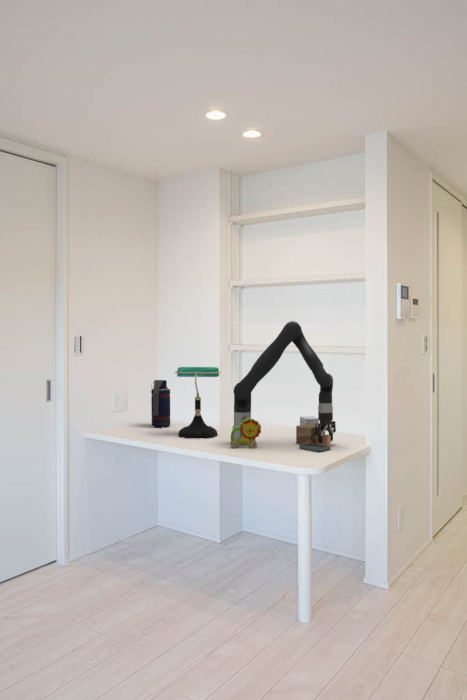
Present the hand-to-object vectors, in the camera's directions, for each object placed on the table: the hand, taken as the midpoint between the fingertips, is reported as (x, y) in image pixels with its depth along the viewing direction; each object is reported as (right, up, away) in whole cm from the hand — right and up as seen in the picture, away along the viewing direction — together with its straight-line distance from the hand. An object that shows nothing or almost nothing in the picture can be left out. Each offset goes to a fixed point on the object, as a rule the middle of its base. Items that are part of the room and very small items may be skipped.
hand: (325, 441), depth 302 cm
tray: (-7, -2, -9) cm, 12 cm away
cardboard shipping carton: (-7, -2, +7) cm, 10 cm away
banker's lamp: (-69, -2, +33) cm, 77 cm away
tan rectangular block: (-2, -2, +2) cm, 3 cm away
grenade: (-95, -1, +65) cm, 115 cm away
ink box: (-5, -2, +25) cm, 26 cm away
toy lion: (-42, -3, -3) cm, 42 cm away
